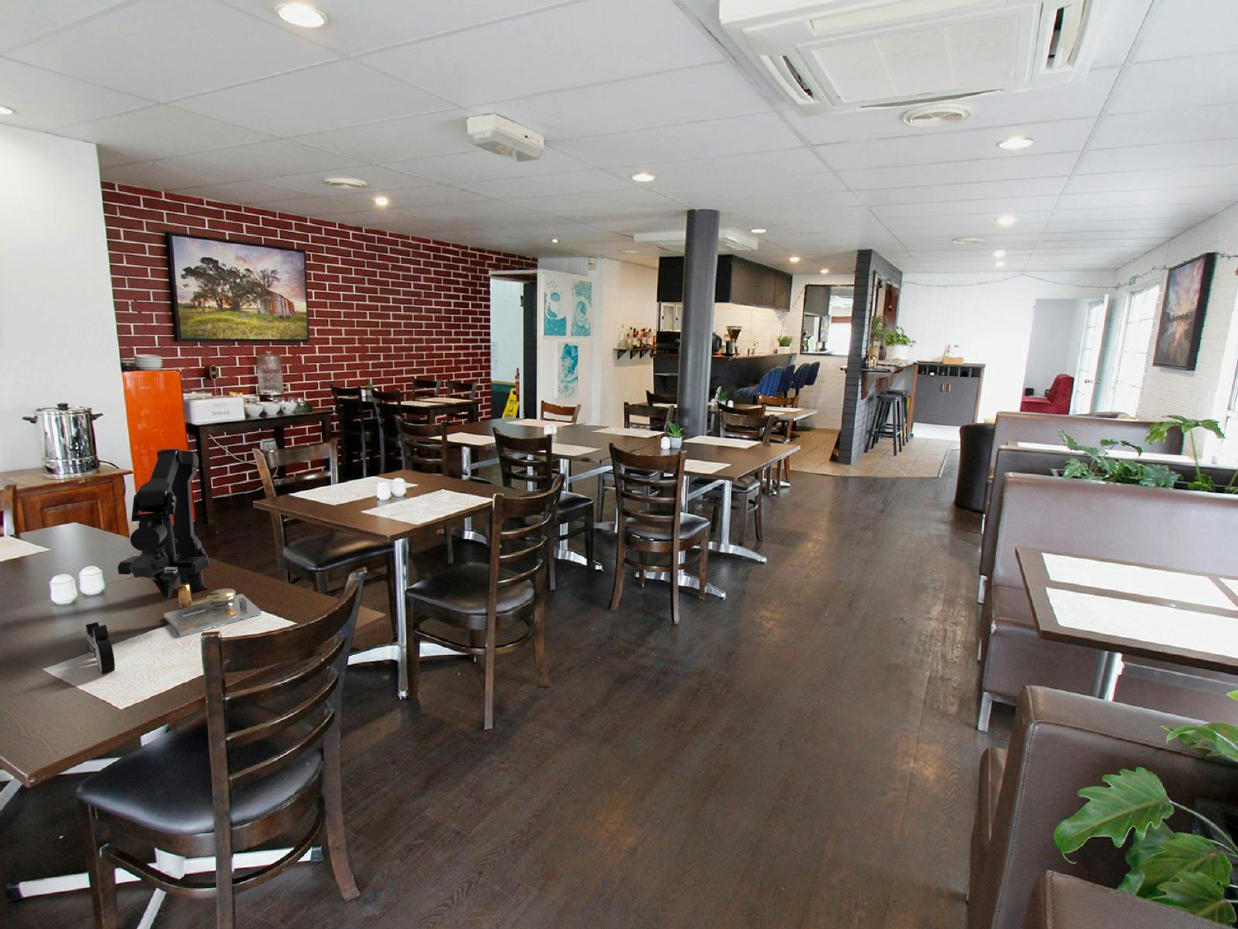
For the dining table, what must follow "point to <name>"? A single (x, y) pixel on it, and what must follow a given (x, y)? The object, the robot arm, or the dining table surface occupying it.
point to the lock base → (210, 615)
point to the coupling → (212, 597)
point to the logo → (101, 646)
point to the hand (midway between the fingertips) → (167, 597)
